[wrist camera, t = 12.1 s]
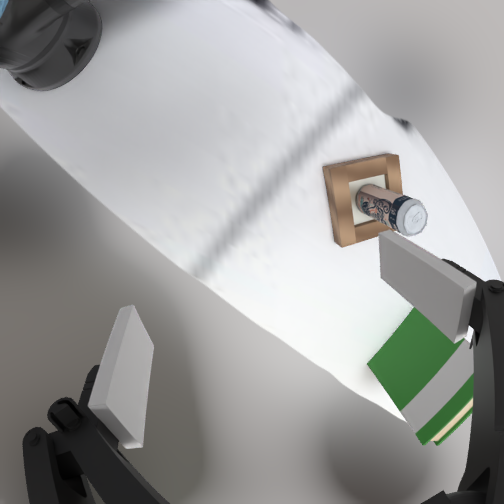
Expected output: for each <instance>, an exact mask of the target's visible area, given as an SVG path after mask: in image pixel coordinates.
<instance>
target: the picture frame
mask: <svg viewBox="0 0 504 504" xmlns="http://www.w3.org/2000/svg"><path fill="white" fill-rule="evenodd" d="M323 172H324V177H325V183H326V189H327V195H328V201H329V207H330V213H331V220H332V227H333V234H334V241H335V242H336V243H337V244H338V245H339V246H340V247H345V246H349V245H352V244H355V243H358V242H362V241H365V240H368V239H371V238H374V237H377V236H379V235H378V233H380V232H383V231H387V230H392V231H396V230H394V229H392V228H390V227H388V226H387V225H385V224H383V223H381V222H379V221H377V220H375V219H373V218H372V217H370V216H368V215H366V214H363V213H362V212H361V211H360V210H359V209H358V206H357V202H356V201H357V195H358V192H359V191H360V189H361V188H362V187H363V186H365V185H367V184H374V185H376V186H379V187H382V188H385V189H388V190H391V191H394V192H397V193H399V194H402V195H403V192H402V181H401V172H400V163H399V155H395V154H384V155H378V156H373V157H368V158H363V159H357V160H352V161H348V162H343V163H338V164H333V165H329V166H324V167H323Z"/></svg>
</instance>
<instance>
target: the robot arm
mask: <svg viewBox="0 0 504 504" xmlns="http://www.w3.org/2000/svg"><path fill="white" fill-rule="evenodd" d="M88 1H89V0H0V68H3V69H7V70H8V72H9V73H10V74H11V75H12V77H13V78H14V79H15V80H16V81H17V82H18V83H19V84H20V85H22V86H24V87H26V88H29V89H33V90H39V91H45V90H51V89H54V88H57V87H59V86H62V85H64V84H65V83H67V82H69V81H70V80H71V79H73V78H74V77H75V76H76V75H78V74H79V73H80V72H81V71H82V70H83V69H84V67H85V66H86V65H87V64H88V62H89V61H90V60H91V58H92V56H93V55H94V53H95V51H96V49H97V47H98V44H99V41H100V37H101V31H102V24H101V19H100V16H99V13H98V12H97V10H96V9H95V8H94V7H93V5H92V4H91V3H90V2H88ZM378 235H379V251H380V272H381V278H382V279H383V280H384V281H385V282H386V283H387V284H389V285H390V286H391V287H392V288H393V289H394V290H396V291H397V292H398V293H399V294H400V295H401V296H402V297H404V298H405V299H406V300H407V301H408V302H409V303H410V304H412V305H413V306H414V307H415V308H416V309H417V310H418V311H419V312H421V313H422V314H423V315H424V316H425V317H426V318H427V319H428V320H429V321H430V322H432V323H433V324H434V325H435V326H436V327H437V328H438V329H439V330H440V331H441V332H442V333H443V334H445V335H446V336H447V337H448V338H449V339H450V340H451V341H452V342H453V343H454V344H455V343H456V342H458V341H460V340H461V339H463V338H464V337H466V335H467V331H468V327H469V326H471V327H472V328H473V329H474V331H473V335H472V339H471V343H470V347H469V349H471V348H472V345H473V362H474V385H473V410H472V423H471V434H470V442H469V450H468V458H467V464H466V469H465V473H464V475H463V477H462V480H461V482H460V484H459V487H458V491H457V492H454V493H450V494H445V492H444V491H441V492H440V493H438V494H436V495H435V496H433V497H431V498H430V499H428V500H426V501H425V502H423V503H421V504H504V282H502V281H499V280H488V281H486V282H485V281H483V280H481V279H480V278H478V277H477V276H475V275H474V274H472V273H471V272H469V271H466V269H464V268H463V267H460V266H459V265H458V264H456V263H454V262H453V261H449V260H446V259H440V258H438V257H436V256H435V255H433V254H431V253H430V252H428V251H426V250H425V249H423V248H421V247H420V246H418V245H416V244H414V243H413V242H411V241H409V240H407V239H406V238H404V237H402V236H400V235H399V234H397V233H395V232H393V231H392V230H387V231H383V232H380V233H378ZM153 350H154V345H153V343H152V342H151V339H150V337H149V336H148V333H147V331H146V330H145V327H144V325H143V323H142V321H141V319H140V317H139V315H138V313H137V311H136V309H135V307H134V305H130V306H126V307H122V308H120V310H119V313H118V316H117V318H116V321H115V324H114V326H113V329H112V332H111V335H110V337H109V340H108V343H107V346H106V349H105V352H104V355H103V358H102V361H101V364H100V365H95V366H94V367H93V368H92V369H91V371H90V372H89V373H88V375H87V378H86V381H85V383H86V384H84V387H83V391H82V393H81V397H80V400H79V403H78V405H77V404H76V402H75V401H73V399H72V398H68V397H65V398H61V399H59V400H57V401H56V402H54V403H53V404H52V405H51V407H50V409H49V410H48V414H47V416H48V420H49V421H50V422H51V423H52V424H53V425H54V426H55V427H56V428H57V429H58V431H55V432H52V433H49V434H48V433H47V432H46V431H45V430H43V429H42V428H41V427H35V428H32V429H31V430H29V431H28V432H27V433H26V435H25V436H24V439H23V457H24V468H25V476H26V484H27V491H28V497H29V502H30V504H96V503H95V500H94V498H93V495H92V492H91V489H90V487H89V484H88V480H89V481H90V483H91V484H92V486H93V487H94V488H95V490H96V491H97V493H98V494H99V496H100V497H101V498H102V500H103V501H104V502H105V503H106V504H170V503H169V502H168V501H167V500H166V499H165V498H163V497H162V496H161V495H160V494H159V493H158V492H157V491H156V490H155V489H154V488H153V487H152V486H151V485H150V484H149V483H148V482H147V481H146V480H145V479H144V477H143V476H142V475H141V474H140V473H139V472H138V471H137V470H136V469H135V468H134V467H133V465H132V464H131V463H130V462H129V461H128V460H127V459H126V458H125V456H124V455H123V454H122V453H121V452H120V451H119V450H118V442H120V443H121V444H122V445H123V446H124V447H125V448H126V449H129V448H139V447H143V438H144V426H145V416H146V406H147V397H148V388H149V380H150V372H151V365H152V357H153ZM86 476H87V477H86ZM87 478H88V480H87Z"/></svg>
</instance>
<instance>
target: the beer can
mask: <svg viewBox="0 0 504 504" xmlns="http://www.w3.org/2000/svg"><path fill="white" fill-rule="evenodd" d="M356 202H357V206H358V209H359V210H360V211H361V212H362V213H363V214H366V215H368V216H370V217H372V218H373V219H375V220H377V221H379V222H381V223H383V224H385V225H387V226H388V227H390V228H392V229H394V230H396V231H398V232H399V233H401V234H403V235H404V236H413V235H414V236H415V235H417V234H419V233H421V232H422V231H423V229H424V228H425V226H426V224H427V217H428V214H427V212H426V209H425V207H424V206H423V204H422V203H421V202H420V201H419V200H417V199H413V198H410V197H408V196H405V195H402V194H399V193H397V192H394V191H391V190H388V189H385V188H382V187H379V186H376V185H374V184H367V185H365V186H363V187H362V188H361V189H360V191H359V192H358V195H357V201H356Z"/></svg>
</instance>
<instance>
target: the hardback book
mask: <svg viewBox="0 0 504 504" xmlns="http://www.w3.org/2000/svg"><path fill="white" fill-rule="evenodd" d="M469 347H470V343H469V342H468V341H467V340H466V339H465V338H463V339H461V340H460V341H458V342H456V343H455V344H454V343H453V342H452V341H451V340H450V339H449V338H448V337H447V336H446V335H445V334H443V333H442V332H441V331H440V330H439V329H438V328H437V327H436V326H435V325H434V324H433V323H432V322H430V321H429V320H428V319H427V318H426V317H425V316H424V315H423V314H422V313H421V312H419V311H418V310H417V309H416V308H415V307H414V308H413V309H412V311H411V312H410V313H409V315H408V316H407V317H406V318H405V320H404V321H403V322H402V324H401V325H400V326H399V327H398V328H397V330H396V331H395V332H394V333H393V335H392V336H391V337H390V338H389V339H388V341H387V342H386V343H385V344H384V345H383V346H382V348H381V349H380V350H379V351H378V352H377V353H376V354H375V355H374V357H373V358H372V359H371V360H370V361H369V362H368V363H367V365H368V366H369V367H370V369H371V370H372V372H373V373H374V375H375V376H376V377H377V379H378V380H379V382H380V383H381V385H382V386H383V387H384V389H385V390H386V392H387V393H388V395H389V396H390V398H391V399H392V401H393V402H394V403H395V405H396V406H397V408H398V409H399V411H400V412H401V414H402V415H403V417H404V418H405V420H406V421H407V423H408V424H409V425H410V427H411V428H412V430H413V431H414V433H415V434H416V436H417V437H418V439H419V440H420V442H421V443H422V445H426V444H427V443H428V442H429V441H434V442H435V444H436V445H437V446H438V445H440V444H441V443H442V442H443V441H444V440H445V439H446V438H447V437H448V436H449V435H451V433H453V432H454V431H455V430H456V429H457V428H458V427H459V426H460V425H461V424H462V423H463V422H464V421H465V420H466V419H467V417H469V416H470V414H471V413H472V410H473V385H474V362H473V346H472V348H471V349H469Z"/></svg>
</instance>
